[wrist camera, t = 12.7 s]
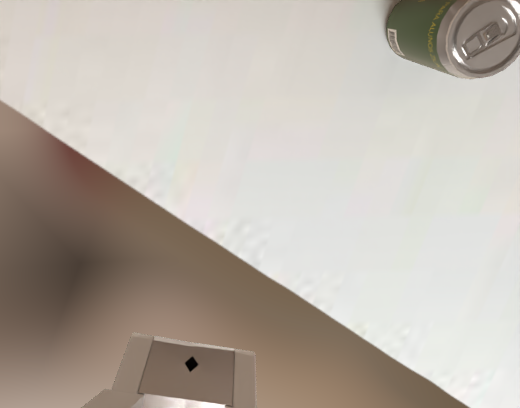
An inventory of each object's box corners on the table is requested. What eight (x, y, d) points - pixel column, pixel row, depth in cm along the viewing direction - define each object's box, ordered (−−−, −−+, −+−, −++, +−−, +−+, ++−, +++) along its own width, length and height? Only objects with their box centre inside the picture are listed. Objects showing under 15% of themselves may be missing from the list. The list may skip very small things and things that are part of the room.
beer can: (402, 71, 37) (466, 99, 26) (372, 19, 35) (427, 26, 24) (456, 32, 35) (547, 44, 25) (428, -24, 34) (514, -37, 23)
